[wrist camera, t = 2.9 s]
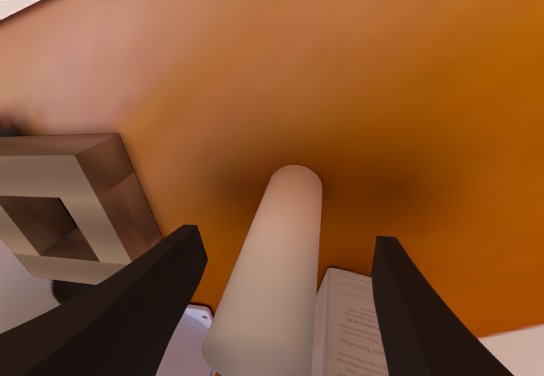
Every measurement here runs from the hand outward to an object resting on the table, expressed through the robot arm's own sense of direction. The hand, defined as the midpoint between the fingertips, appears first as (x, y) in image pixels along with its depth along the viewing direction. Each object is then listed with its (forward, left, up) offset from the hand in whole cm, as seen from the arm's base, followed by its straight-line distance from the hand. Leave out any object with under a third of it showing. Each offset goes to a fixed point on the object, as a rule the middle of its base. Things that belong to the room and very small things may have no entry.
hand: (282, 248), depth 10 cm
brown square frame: (-2, +15, -5) cm, 16 cm away
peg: (0, 0, -5) cm, 5 cm away
